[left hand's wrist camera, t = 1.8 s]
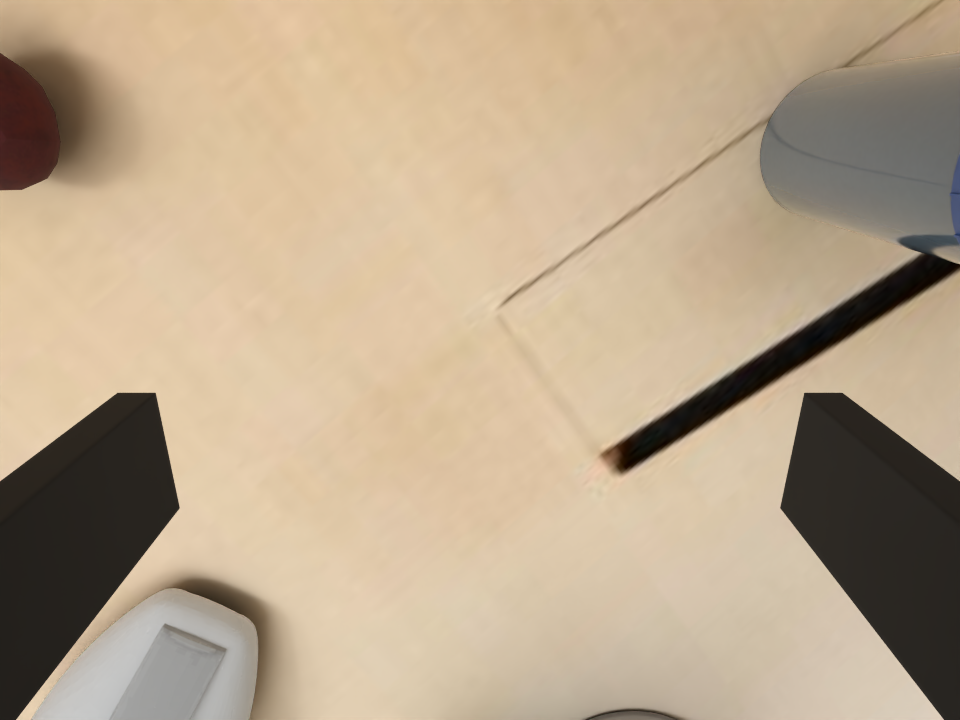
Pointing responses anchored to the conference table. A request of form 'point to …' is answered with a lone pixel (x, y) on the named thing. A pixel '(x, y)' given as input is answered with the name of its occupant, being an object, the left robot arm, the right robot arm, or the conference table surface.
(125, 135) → the conference table surface
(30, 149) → the dark maroon ball
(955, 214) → the lid
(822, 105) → the jar
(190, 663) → the projector
